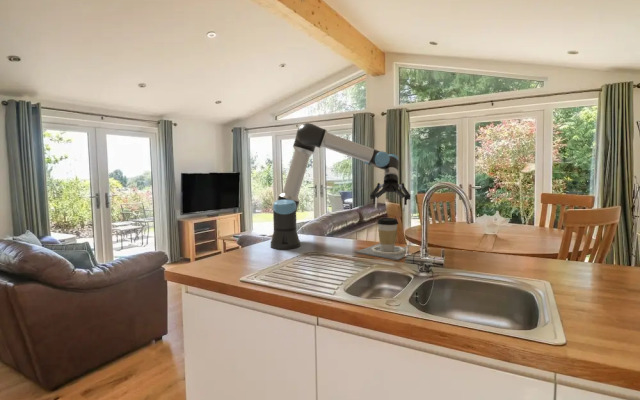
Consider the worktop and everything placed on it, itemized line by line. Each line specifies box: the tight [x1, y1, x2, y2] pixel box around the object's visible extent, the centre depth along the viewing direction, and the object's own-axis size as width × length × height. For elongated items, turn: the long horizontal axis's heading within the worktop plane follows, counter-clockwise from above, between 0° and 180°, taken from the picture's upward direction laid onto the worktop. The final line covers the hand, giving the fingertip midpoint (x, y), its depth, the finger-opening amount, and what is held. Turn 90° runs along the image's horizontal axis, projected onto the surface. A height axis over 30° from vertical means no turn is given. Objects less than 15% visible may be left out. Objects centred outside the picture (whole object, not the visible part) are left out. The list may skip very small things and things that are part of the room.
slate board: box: [355, 243, 407, 261], centre depth 166 cm, size 22×22×1 cm
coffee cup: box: [376, 217, 399, 252], centre depth 165 cm, size 10×10×15 cm
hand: (389, 209), depth 174 cm, fingers open, 13 cm apart
